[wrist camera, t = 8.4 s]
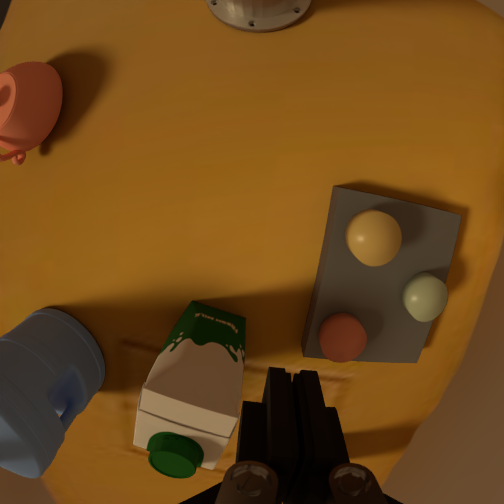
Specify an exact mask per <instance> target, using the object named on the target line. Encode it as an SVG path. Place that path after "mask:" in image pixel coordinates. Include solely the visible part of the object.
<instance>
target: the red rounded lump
mask: <svg viewBox="0 0 504 504" xmlns="http://www.w3.org/2000/svg"><path fill="white" fill-rule="evenodd" d="M318 339H319V342H320V345H321V349H322V352H323V354H324V355H325V357H326V358H328V359H329V360H331V361H333V362H347V361H350V360H353V359H354V358H356V357H357V356H359V355H360V354H361V352H362V351H363V350H364V348H365V346H366V343H367V335H366V332H365V330H364V329H363V327H362V325H361V323H360V322H359V320H358V319H357V318H356V317H355V316H354V315H352V314H349V313H337V314H334V315H332V316H330V317H328V318H327V319H326V320H325V321H324V322H323V323H322V324H321V326H320V328H319V332H318Z"/></svg>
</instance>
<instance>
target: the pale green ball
mask: <svg viewBox="0 0 504 504" xmlns="http://www.w3.org/2000/svg"><path fill="white" fill-rule="evenodd" d="M447 300H448V290H447V287H446V285H445V284H444V283H443V282H442V281H440V280H439V279H438V278H436V277H435V276H434V275H432V274H430V273H427V272H422V273H418V274H416V275H414V276H413V277H412V278H410V279H409V281H408V282H407V283H406V285H405V287H404V289H403V292H402V303H403V305H404V307H405V309H406V310H407V311H408V312H409V313H410V314H411V315H412V316H413V317H414V318H415V319H416V320H418V321H421V322H427V321H431V320H433V319H435V318H436V317H437V316H438V315H440V313H441V312H442V311H443V310H444V308H445V306H446V303H447Z"/></svg>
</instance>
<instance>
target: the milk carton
mask: <svg viewBox="0 0 504 504" xmlns="http://www.w3.org/2000/svg"><path fill="white" fill-rule="evenodd" d="M245 321H246V318H243V317H240V316H237V315H234V314H231V313H228V312H225V311H222V310H219V309H216V308H213V307H210V306H207V305H204V304H201V303H198V302H195V301H191V303H190V304H189V306H188V307H187V309H186V310H185V312H184V313H183V315H182V316H181V318H180V319H179V321H178V322H177V324H176V325H175V327H174V328H173V330H172V332H171V333H170V335H169V337H168V339H167V340H166V342H165V344H164V346H163V348H162V350H161V352H160V354H159V355H158V357H157V359H156V361H155V363H154V365H153V367H152V369H151V371H150V373H149V375H148V378H147V380H146V383H145V382H144V384H143V386H142V389H141V393H140V397H139V401H138V407H137V417H136V424H135V433H134V442H133V444H134V445H136V446H138V447H141V448H145V449H147V451H150V454H149V457H148V460H149V463H150V465H151V466H152V467H153V468H154V469H155V470H156V471H158V472H159V473H161V474H163V475H166V476H168V477H172V478H180V479H181V478H188V477H191V476H193V475H194V473H195V472H196V468H197V467H200V466H201V467H204V468H207V469H212V470H213V469H214V468H215V466H216V464H217V462H218V460H219V459H220V457H221V455H222V453H223V451H224V449H225V447H226V446H227V444H228V442H229V440H230V438H231V436H232V434H233V432H234V430H235V427H236V425H237V422H238V419H239V414H240V412H239V405H240V399H241V390H242V380H243V370H244V358H245ZM238 412H239V414H238Z"/></svg>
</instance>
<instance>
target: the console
mask: <svg viewBox="0 0 504 504" xmlns="http://www.w3.org/2000/svg"><path fill="white" fill-rule="evenodd" d="M365 209H375V210H378V211H381V212H383V213H386V214H388V215H390V216H391V217H393V218H394V219H395V220H396V221H397V223H398V225H399V227H400V230H401V235H402V241H401V246H400V248H399V251H398V253H397V254H396V256H395V257H394V258H393V259H392V260H391V261H389V262H388V263H386V264H384V265H381V266H368V265H365V264H363V263H362V262H360V261H359V260H358V259H357V258H356V257H355V256H354V255H353V254H352V253H351V251H350V250H349V249H348V247H347V244H346V241H345V230H346V227H347V224H348V222H349V221H350V219H351V218H352V217H353V215H355V214H356V213H358V212H359V211H362V210H365ZM461 217H462V215H458V214H455V213H452V212H448V211H444V210H441V209H437V208H433V207H429V206H425V205H420V204H416V203H412V202H408V201H403V200H399V199H395V198H390V197H386V196H381V195H376V194H372V193H367V192H362V191H357V190H352V189H347V188H341V187H336V186H333V190H332V196H331V202H330V208H329V213H328V219H327V224H326V230H325V235H324V241H323V246H322V251H321V256H320V261H319V266H318V271H317V276H316V280H315V285H314V290H313V294H312V299H311V304H310V308H309V312H308V317H307V321H306V325H305V330H304V334H303V338H302V342H301V347H302V352H303V357H310V358H321V359H328V358H326V357H325V355H324V354H323V352H322V349H321V345H320V342H319V339H318V332H319V328H320V326H321V324H322V323H323V322H324V321H325V320H326V319H327V318H328V317H330V316H332V315H334V314H337V313H349V314H352V315H354V316H355V317H356V318H357V319H358V320H359V322H360V323H361V325H362V327H363V329H364V330H365V332H366V335H367V343H366V346H365V348H364V350H363V351H362V352H361V354H360V355H359V356H357V357H356V358H354V359H353V360H350V361H366V362H391V363H417V361H418V359H419V356H420V354H421V351H422V349H423V346H424V344H425V341H426V339H427V336H428V333H429V331H430V328H431V325H432V322H433V320H431V321H427V322H421V321H418V320H416V319H415V318H414V317H413V316H412V315H411V314H410V313H409V312H408V311H407V310H406V309H405V307H404V305H403V303H402V292H403V289H404V287H405V285H406V283H407V282H408V281H409V279H410V278H412V277H413V276H414V275H416V274H418V273H422V272H427V273H430V274H432V275H434V276H435V277H436V278H438V279H439V280H440V281H442V282H443V283H444V284H445V282H446V278H447V275H448V271H449V268H450V264H451V260H452V256H453V252H454V248H455V244H456V240H457V236H458V231H459V226H460V222H461Z"/></svg>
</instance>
